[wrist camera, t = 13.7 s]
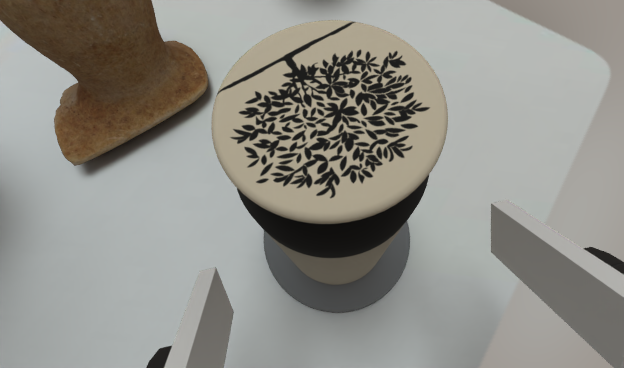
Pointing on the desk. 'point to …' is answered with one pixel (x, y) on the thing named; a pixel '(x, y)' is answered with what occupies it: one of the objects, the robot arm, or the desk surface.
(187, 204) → the desk surface
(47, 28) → the stone cup
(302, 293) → the mat
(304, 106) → the travel mug
